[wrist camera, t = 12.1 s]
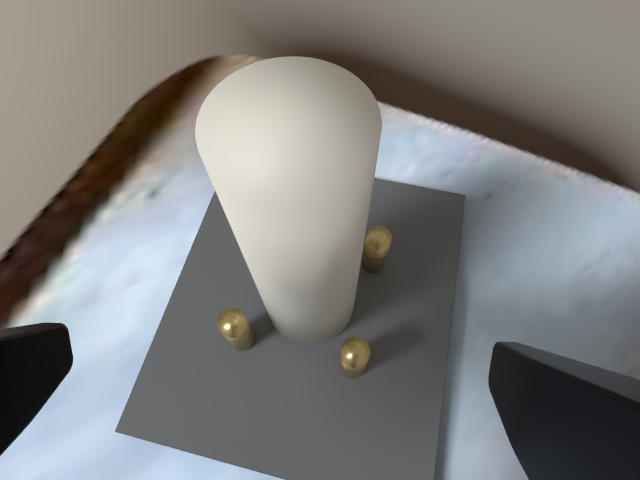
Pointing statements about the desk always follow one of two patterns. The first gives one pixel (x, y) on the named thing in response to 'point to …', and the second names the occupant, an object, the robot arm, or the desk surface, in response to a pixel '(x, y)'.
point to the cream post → (295, 184)
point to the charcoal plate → (310, 355)
